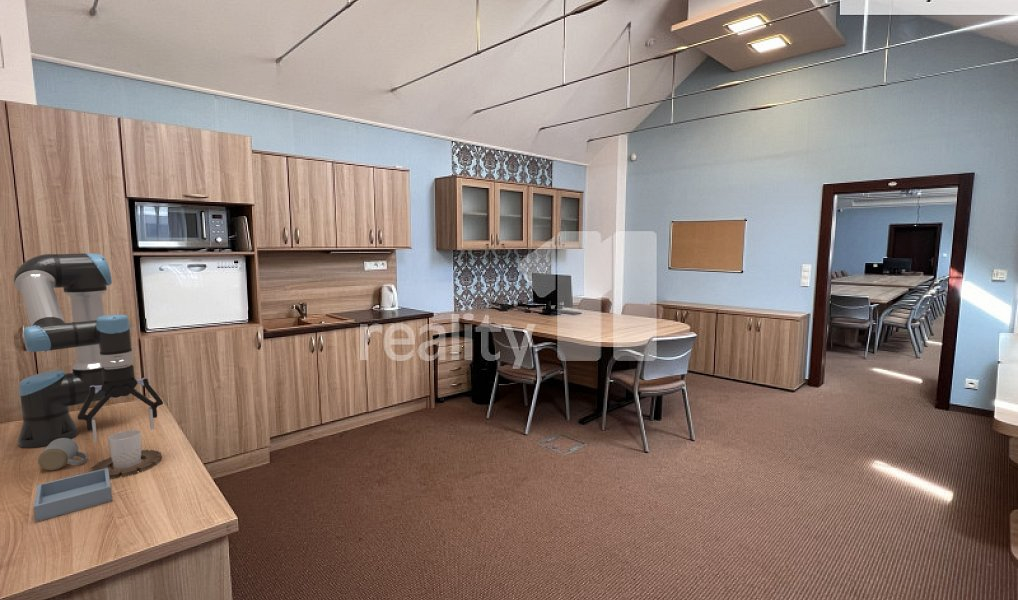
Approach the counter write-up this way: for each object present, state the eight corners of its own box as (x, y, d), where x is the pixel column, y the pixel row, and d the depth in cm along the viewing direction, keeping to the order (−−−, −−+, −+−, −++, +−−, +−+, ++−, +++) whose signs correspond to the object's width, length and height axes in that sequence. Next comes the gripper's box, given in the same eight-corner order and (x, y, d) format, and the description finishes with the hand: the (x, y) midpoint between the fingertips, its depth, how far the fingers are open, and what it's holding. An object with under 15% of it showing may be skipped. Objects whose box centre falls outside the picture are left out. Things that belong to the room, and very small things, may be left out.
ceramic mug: (37, 474, 143) (34, 449, 142) (48, 462, 150) (46, 439, 149) (82, 467, 147) (80, 443, 147) (91, 456, 155) (89, 434, 154)
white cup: (108, 473, 143) (104, 441, 142) (115, 463, 150) (111, 432, 149) (140, 468, 147) (137, 436, 145) (146, 457, 154) (143, 428, 152)
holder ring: (90, 464, 149) (90, 460, 149) (158, 448, 160) (157, 445, 160) (92, 485, 136) (91, 481, 136) (164, 466, 148) (164, 462, 148)
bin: (39, 498, 129) (37, 484, 129) (109, 480, 139) (108, 467, 138) (35, 522, 118) (33, 506, 118) (112, 500, 128) (110, 486, 127)
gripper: (60, 376, 134) (69, 449, 136) (169, 361, 150) (175, 426, 152) (61, 371, 139) (69, 441, 141) (166, 357, 156) (172, 420, 158)
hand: (124, 434), depth 147 cm, fingers open, 13 cm apart
